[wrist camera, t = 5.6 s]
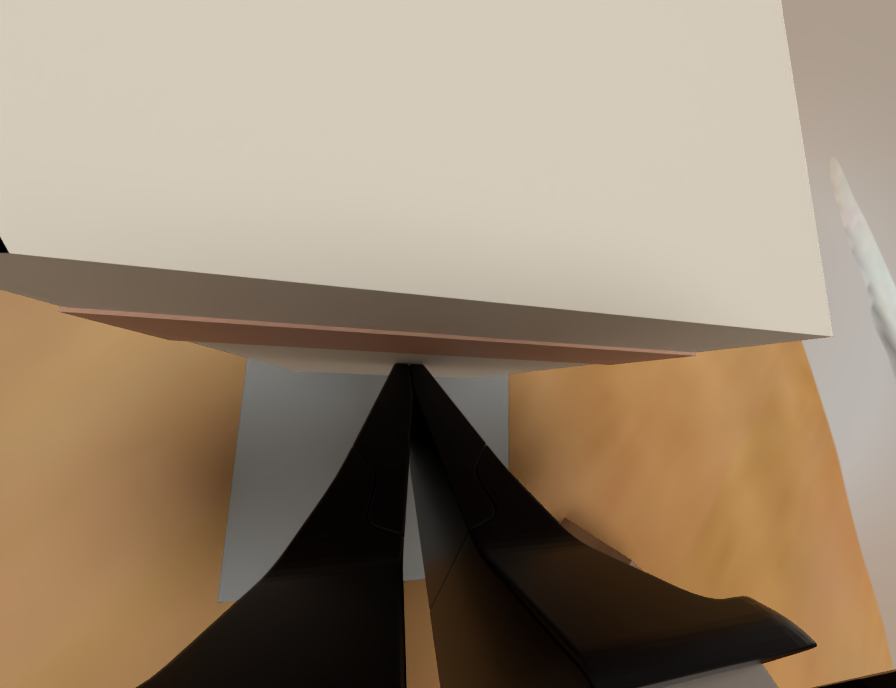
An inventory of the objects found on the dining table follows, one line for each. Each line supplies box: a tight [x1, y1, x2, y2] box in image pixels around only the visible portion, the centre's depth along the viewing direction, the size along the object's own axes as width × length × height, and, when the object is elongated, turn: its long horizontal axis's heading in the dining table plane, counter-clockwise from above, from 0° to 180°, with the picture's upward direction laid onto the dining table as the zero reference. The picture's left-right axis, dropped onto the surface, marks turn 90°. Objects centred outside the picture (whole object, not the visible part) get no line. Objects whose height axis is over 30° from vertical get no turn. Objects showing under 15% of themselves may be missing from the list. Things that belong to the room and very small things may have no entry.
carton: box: [0, 0, 833, 378], centre depth 10 cm, size 7×9×14 cm
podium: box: [218, 358, 509, 603], centre depth 16 cm, size 20×13×2 cm, turn 178°
